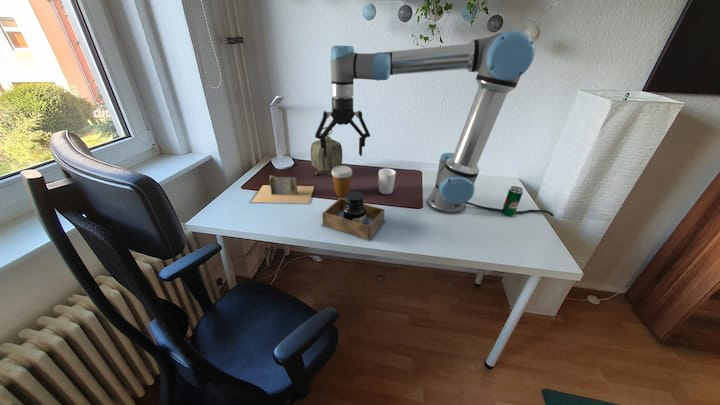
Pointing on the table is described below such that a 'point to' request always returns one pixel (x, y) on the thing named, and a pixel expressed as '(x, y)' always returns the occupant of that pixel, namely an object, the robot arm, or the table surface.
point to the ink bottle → (355, 207)
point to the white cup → (386, 180)
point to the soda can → (512, 200)
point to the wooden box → (352, 226)
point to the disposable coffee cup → (341, 179)
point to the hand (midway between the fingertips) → (343, 155)
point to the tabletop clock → (332, 154)
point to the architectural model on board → (284, 191)
